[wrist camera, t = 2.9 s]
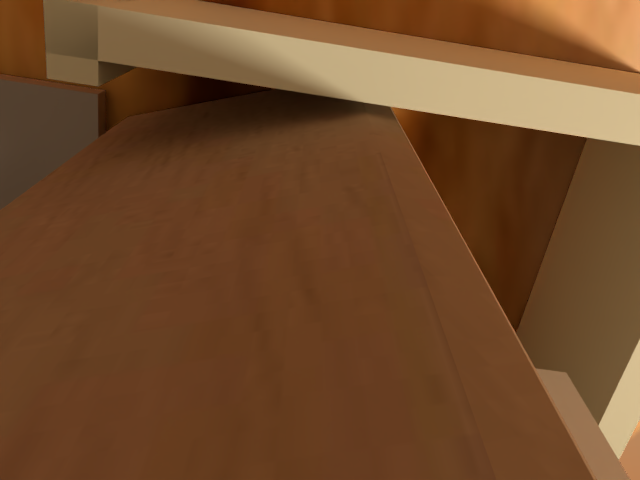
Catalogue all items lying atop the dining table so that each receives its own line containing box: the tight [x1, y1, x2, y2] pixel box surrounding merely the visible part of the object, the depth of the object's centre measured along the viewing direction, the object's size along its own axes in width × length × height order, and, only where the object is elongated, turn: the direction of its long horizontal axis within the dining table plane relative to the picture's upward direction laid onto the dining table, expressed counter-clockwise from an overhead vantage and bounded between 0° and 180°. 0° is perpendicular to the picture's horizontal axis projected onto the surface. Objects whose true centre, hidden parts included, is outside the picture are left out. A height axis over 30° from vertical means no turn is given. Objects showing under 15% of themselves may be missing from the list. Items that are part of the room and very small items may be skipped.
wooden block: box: [0, 89, 597, 480], centre depth 13 cm, size 10×10×20 cm
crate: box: [43, 0, 640, 460], centre depth 19 cm, size 18×15×7 cm
